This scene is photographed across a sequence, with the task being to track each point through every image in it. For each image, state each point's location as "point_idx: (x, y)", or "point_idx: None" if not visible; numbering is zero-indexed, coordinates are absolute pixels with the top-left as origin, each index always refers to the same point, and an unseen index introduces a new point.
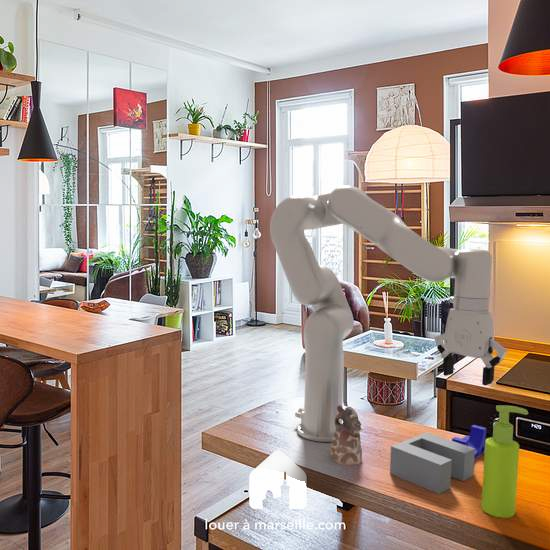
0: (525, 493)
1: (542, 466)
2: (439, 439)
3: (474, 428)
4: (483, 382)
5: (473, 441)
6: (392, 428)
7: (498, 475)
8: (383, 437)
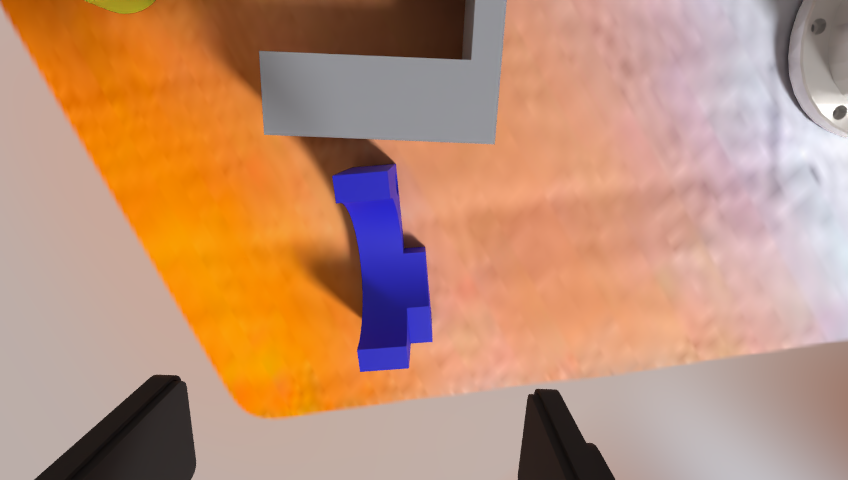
0: (139, 142)
1: (213, 353)
2: (411, 110)
3: (393, 344)
4: (158, 384)
5: (389, 309)
6: (687, 281)
7: None
8: (673, 186)
